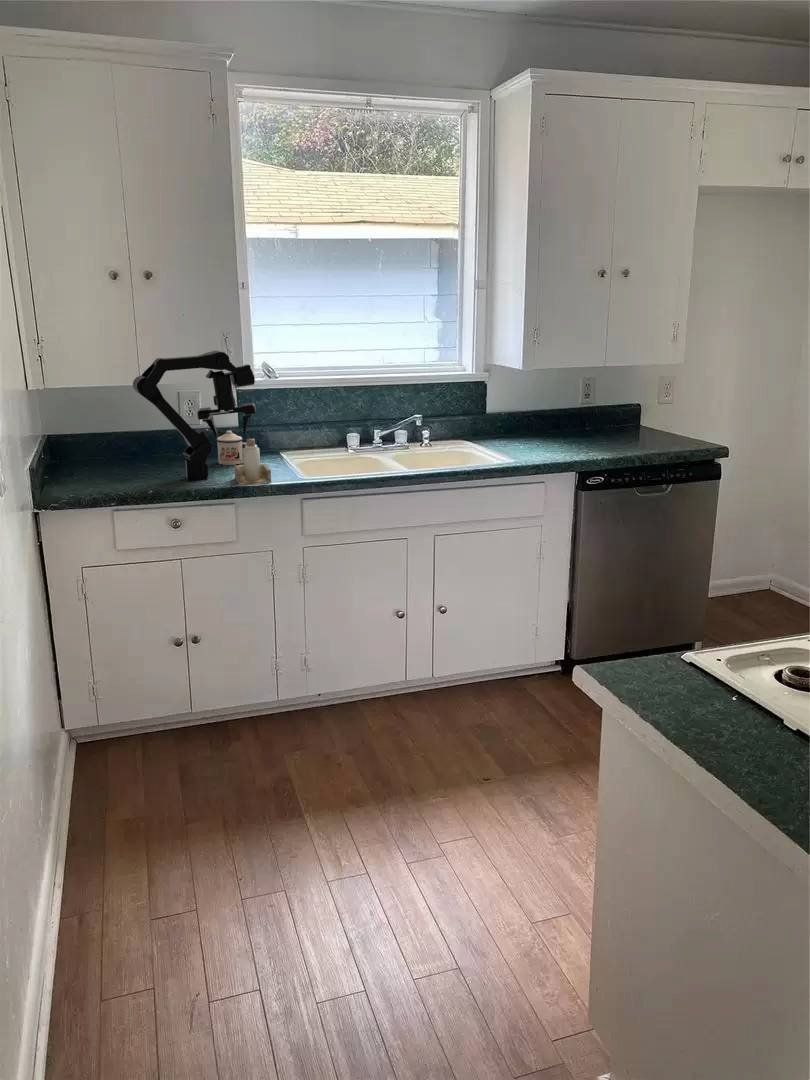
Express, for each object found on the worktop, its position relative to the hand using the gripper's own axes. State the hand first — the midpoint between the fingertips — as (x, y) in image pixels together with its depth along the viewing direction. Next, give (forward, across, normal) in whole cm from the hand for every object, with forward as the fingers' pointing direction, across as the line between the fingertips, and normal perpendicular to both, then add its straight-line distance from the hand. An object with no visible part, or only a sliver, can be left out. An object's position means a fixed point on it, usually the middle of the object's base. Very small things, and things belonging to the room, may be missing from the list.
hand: (231, 436), depth 278 cm
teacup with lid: (+14, +2, -18) cm, 23 cm away
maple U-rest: (+13, -6, +10) cm, 18 cm away
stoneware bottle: (+12, -6, +10) cm, 17 cm away
